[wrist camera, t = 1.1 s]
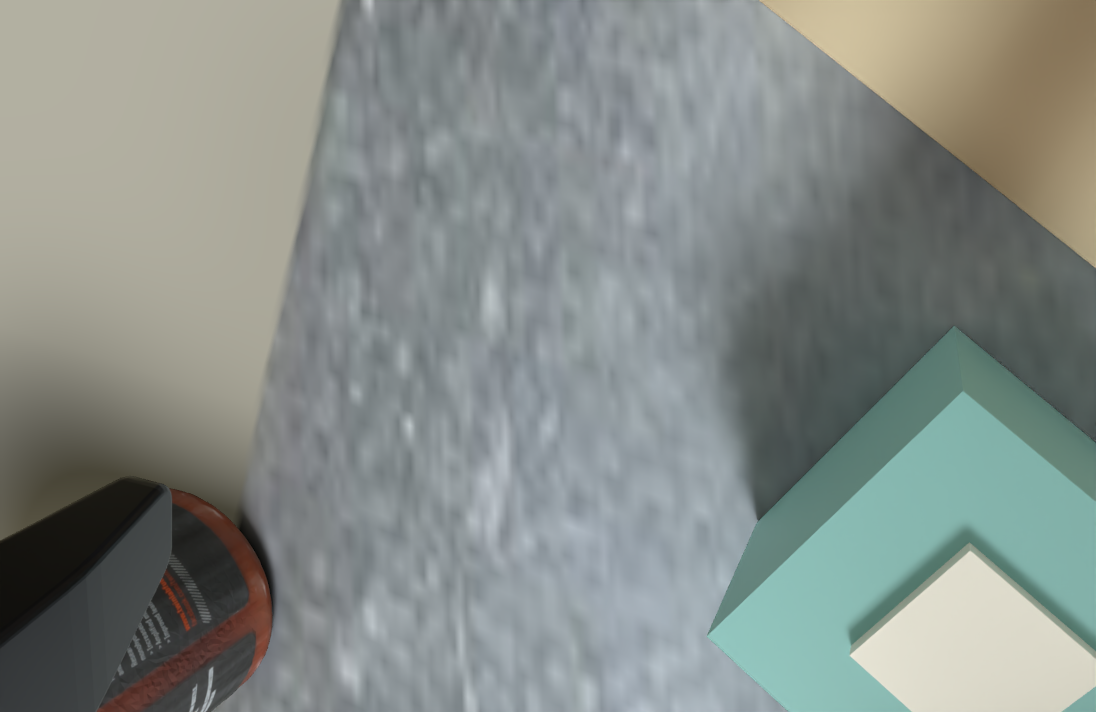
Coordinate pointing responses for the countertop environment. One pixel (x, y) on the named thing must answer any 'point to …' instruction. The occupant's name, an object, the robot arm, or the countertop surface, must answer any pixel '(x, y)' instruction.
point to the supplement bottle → (197, 619)
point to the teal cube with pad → (929, 556)
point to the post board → (983, 89)
